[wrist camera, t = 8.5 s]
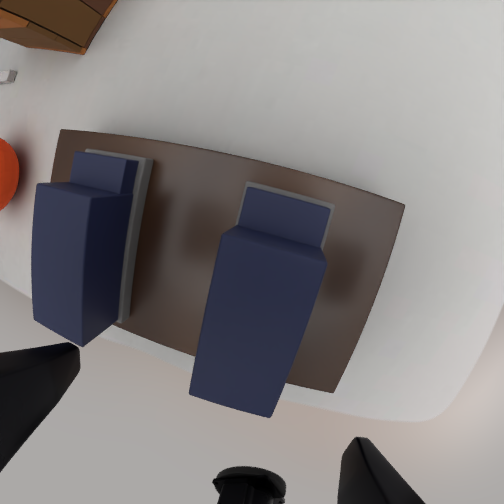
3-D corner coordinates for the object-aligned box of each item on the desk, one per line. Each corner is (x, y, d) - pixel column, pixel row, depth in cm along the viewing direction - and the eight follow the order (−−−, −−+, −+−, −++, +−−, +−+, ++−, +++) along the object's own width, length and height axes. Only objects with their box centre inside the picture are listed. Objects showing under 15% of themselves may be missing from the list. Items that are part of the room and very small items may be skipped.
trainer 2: (280, 367, 16) (273, 423, 11) (210, 347, 16) (182, 396, 11) (333, 204, 13) (350, 210, 9) (249, 181, 14) (228, 177, 9)
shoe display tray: (383, 201, 17) (406, 204, 13) (328, 359, 19) (333, 394, 15) (95, 135, 18) (60, 129, 15) (76, 276, 21) (43, 291, 17)
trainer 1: (129, 317, 16) (86, 353, 12) (78, 295, 17) (31, 321, 12) (154, 159, 14) (103, 151, 10) (95, 149, 15) (40, 143, 10)
